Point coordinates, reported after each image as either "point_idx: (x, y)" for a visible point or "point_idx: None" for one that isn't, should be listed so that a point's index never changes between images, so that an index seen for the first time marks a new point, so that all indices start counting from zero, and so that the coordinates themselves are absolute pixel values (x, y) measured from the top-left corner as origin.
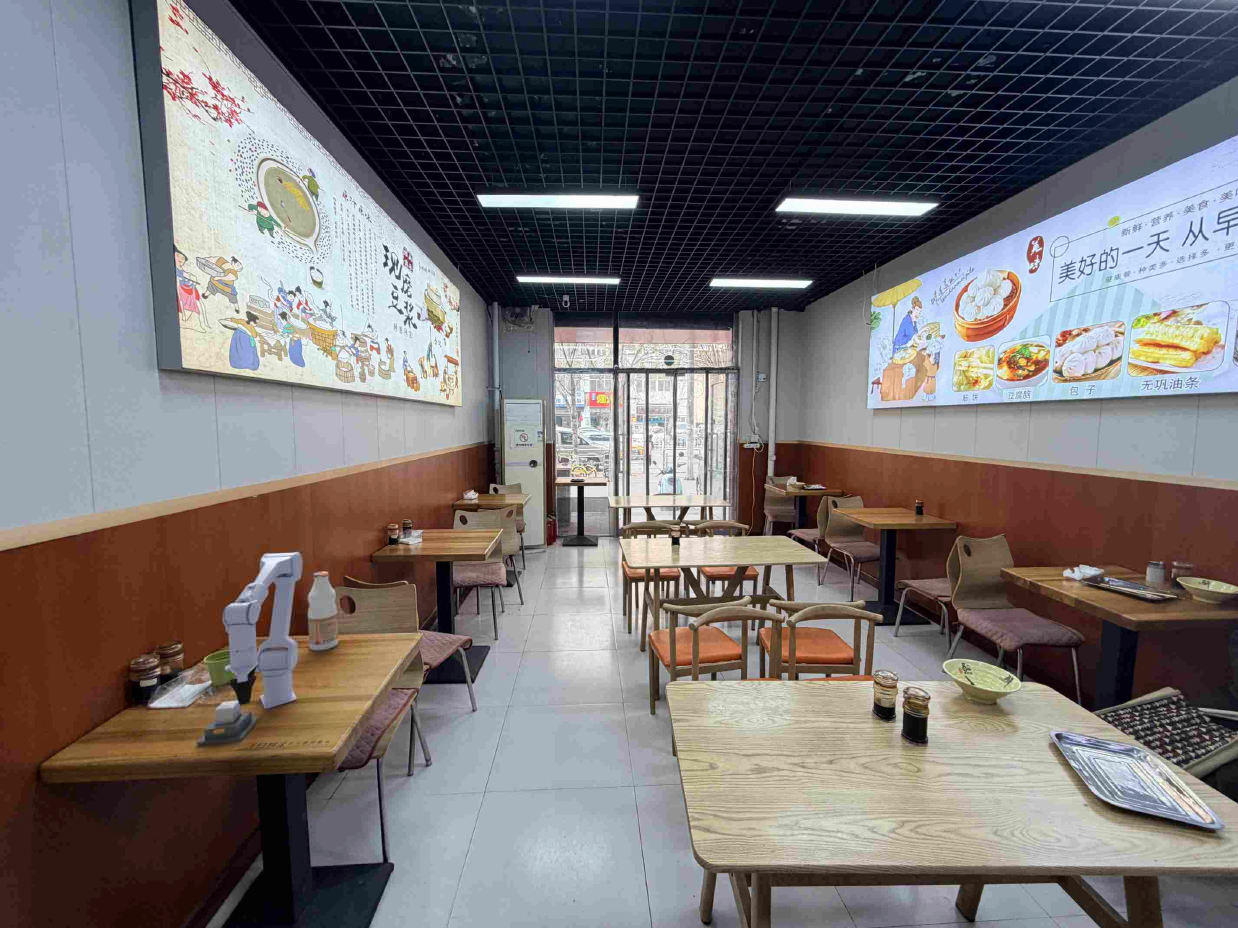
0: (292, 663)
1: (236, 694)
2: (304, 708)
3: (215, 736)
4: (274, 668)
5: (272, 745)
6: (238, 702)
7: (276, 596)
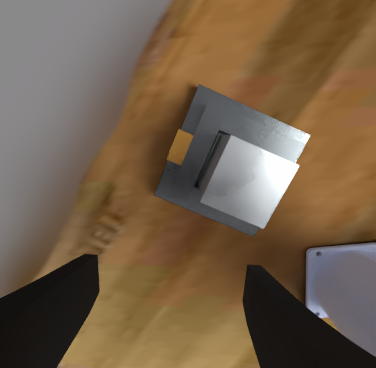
0: None
1: (9, 294)
2: (239, 322)
3: (194, 133)
4: None
5: (88, 252)
6: (250, 221)
7: None
